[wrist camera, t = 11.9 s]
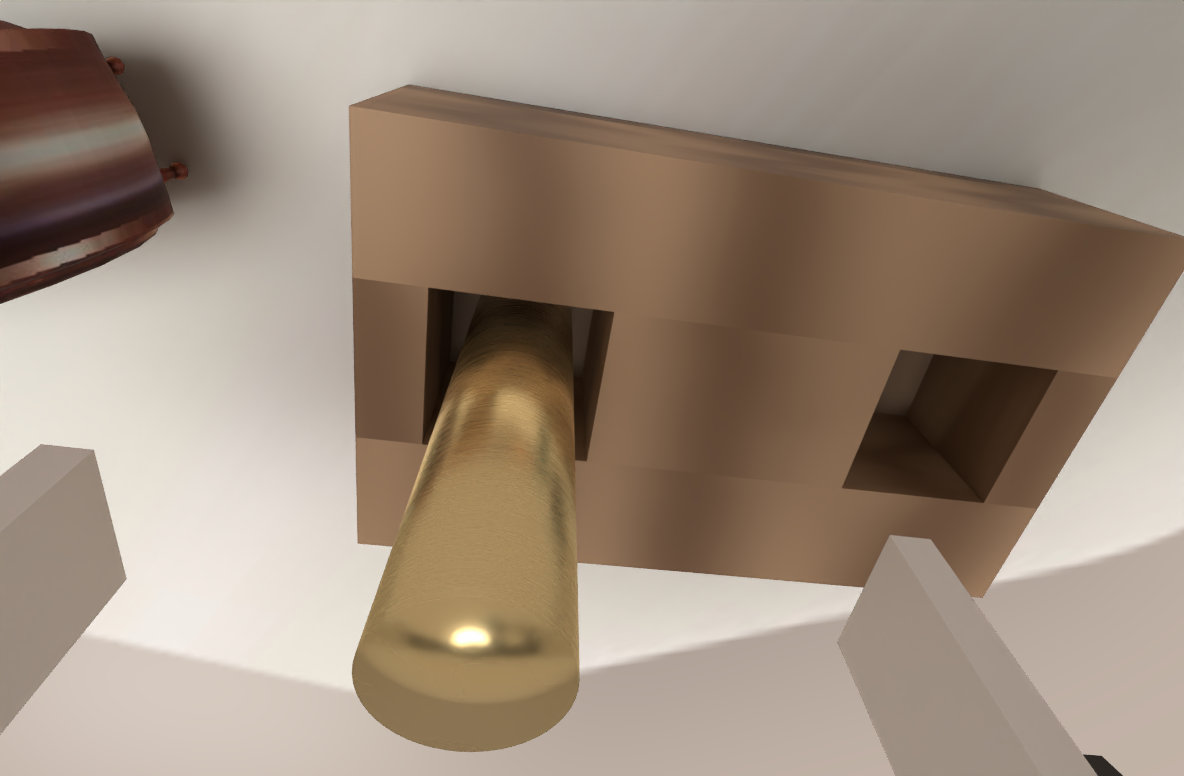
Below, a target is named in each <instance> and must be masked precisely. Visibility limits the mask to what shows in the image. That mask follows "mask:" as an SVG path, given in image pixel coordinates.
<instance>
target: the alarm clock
mask: <svg viewBox="0 0 1184 776" xmlns="http://www.w3.org/2000/svg"><path fill="white" fill-rule="evenodd" d="M124 70H125V65H124V64H123V62H122V61H121V60H120V59H118V58H117V57H109V58H107V59H106V60H105V59H104V57H103V55H102V53H101V51H100V49H99V47H98V45H97V43H96V41H95V39H94V37H93V35H92V34H90V33H88V32H85V31H79V30H70V29H43V28H39V29H26V28H23V27H20V26H17V25H14V24H11V23H8V22H5V21H0V304H1V303H4V302H7V301H10V300H13V299H15V298H18V297H21V296H24V295H27V294H29V293H32V292H35V291H38V290H41V289H43V288H46V287H49V286H52V285H54V284H57V283H59V282H62V281H64V280H67V279H69V278H72V277H74V276H77V275H79V274H82V273H84V272H87V271H89V270H91V269H94V268H96V267H99V266H101V265H104V264H106V263H108V262H110V261H112V260H114V259H116V258H118V257H120V256H122V255H124V254H126V253H128V252H130V251H132V250H134V249H136V248H138V247H140V246H141V245H142V244H143V243H145V242H146V241H147V240H149V239H150V238H151V237H152V236H154V235H155V234H156V232H157V230H158V227H159V226H161V225H162V224H164V223H165V222H167V221H168V220H170V218H171V217H172V216H173V214H174V212H173V208H172V205H171V202H170V198H169V195H168V192H167V190H166V187H165V184H164V183H165V182H167V181H169V180H171V179H173V178H175V179H179V180H182V179H185V178H186V177H187V175H188V170H187V168H186V166H185V165H183V164H181V163H179V162H176V163H172V164H171V165H170V166H169V168H162V169H159V167H158V164H157V161H156V158H155V156H154V153H153V150H152V147H151V144H150V141H149V139H148V136H147V134H146V132H145V129H144V127H143V125H142V123H141V121H140V118H139V116H138V114H137V112H136V110H135V108H134V107H133V105H132V103H131V102H130V100H129V98H128V97H127V95H126V93H125V92H124V90H123V88H122V87H121V85H120V83H119V82H118V80H117V78H116V77H115V75H120V74H122V73H124ZM114 74H115V75H114Z"/></svg>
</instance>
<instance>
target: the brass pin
mask: <svg viewBox="0 0 1184 776" xmlns="http://www.w3.org/2000/svg"><path fill="white" fill-rule="evenodd" d="M352 678H353V684H354V687H355V691H356V694H357V695H358V697H359V699H360V701H361V703H362V704H363V706H364V707H365V708H366V709H367V711H368V712H369V713H370V714H371V715H372V716H373V717H374V718H375V719H376V720H377V721H378V722H380V723H381V724H382V725H383V726H385V727H386V728H388V729H389V730H391V731H392V732H394V733H396V734H398V735H400V736H402V737H404V738H406V739H408V740H411V741H413V742H416V743H419V744H422V745H425V746H429V747H433V748H438V749H444V750H450V751H460V752H479V751H491V750H497V749H503V748H508V747H512V746H516V745H518V744H522V743H524V742H527V741H529V740H532V739H534V738H536V737H538V736H540V735H542V734H543V733H545V732H547V731H548V730H549V729H551V728H552V727H553V726H555V725H556V724H557V723H558V722H559V721H560V720H561V719H562V718H563V717H564V716H565V715H566V714H567V712H568V711H569V710H570V708H571V707H572V704H573V702H574V701H575V699H576V696H577V692H578V688H579V633H578V584H577V535H576V486H575V437H574V388H573V340H572V306H565V305H557V304H550V303H542V302H535V301H527V300H519V299H512V298H504V297H497V296H489V295H480V297H479V300H478V303H477V306H476V309H475V312H474V315H473V317H472V320H471V323H470V326H469V329H468V332H467V335H466V338H465V340H464V343H463V346H462V349H461V352H460V355H459V358H458V361H457V363H456V366H455V369H454V372H453V375H452V378H451V381H450V383H449V386H448V389H447V392H446V395H445V398H444V401H443V404H442V406H441V409H440V412H439V415H438V418H437V421H436V424H435V427H434V429H433V432H432V435H431V438H430V441H429V444H428V447H427V449H426V452H425V455H424V458H423V461H422V464H421V467H420V470H419V472H418V475H417V478H416V481H415V484H414V487H413V490H412V492H411V495H410V498H409V501H408V504H407V507H406V510H405V513H404V515H403V518H402V521H401V524H400V527H399V530H398V533H397V536H396V538H395V541H394V544H393V547H392V550H391V553H390V556H389V558H388V561H387V564H386V567H385V570H384V573H383V576H382V579H381V581H380V584H379V587H378V590H377V593H376V596H375V599H374V602H373V604H372V607H371V610H370V613H369V616H368V619H367V622H366V624H365V627H364V630H363V633H362V636H361V639H360V642H359V645H358V647H357V650H356V653H355V657H354V660H353V666H352Z"/></svg>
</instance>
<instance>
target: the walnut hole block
mask: <svg viewBox="0 0 1184 776" xmlns="http://www.w3.org/2000/svg"><path fill="white" fill-rule="evenodd" d="M349 129H350V179H351V230H352V281H353V331H354V382H355V433H356V483H357V534H358V543H359V544H371V545H382V546H393V544H394V541H395V538H396V536H397V533H398V530H399V527H400V524H401V521H402V518H403V515H404V513H405V510H406V507H407V504H408V501H409V498H410V495H411V492H412V490H413V487H414V484H415V481H416V478H417V475H418V472H419V470H420V467H421V464H422V461H423V458H424V455H425V452H426V449H427V447H428V444H429V441H430V438H431V435H432V432H433V429H434V427H435V424H436V421H437V418H438V415H439V412H440V409H441V406H442V404H443V401H444V398H445V395H446V392H447V389H448V386H449V383H450V381H451V378H452V375H453V372H454V369H455V366H456V363H457V361H458V358H459V355H460V352H461V349H462V346H463V343H464V340H465V338H466V335H467V332H468V329H469V326H470V323H471V320H472V317H473V315H474V312H475V309H476V306H477V303H478V300H479V297H480V295H489V296H497V297H504V298H512V299H519V300H527V301H535V302H542V303H550V304H557V305H565V306H572V340H573V388H574V437H575V486H576V535H577V562H578V563H589V564H601V565H612V566H624V567H635V568H647V569H658V570H670V571H681V572H693V573H704V574H715V575H727V576H738V577H750V578H761V579H773V580H784V581H796V582H807V583H819V584H830V585H842V586H853V587H865V585H866V583H867V580H868V578H869V576H870V574H871V572H872V570H873V568H874V566H875V564H876V562H877V560H878V558H879V556H880V554H881V552H882V550H883V548H884V546H885V544H886V542H887V540H888V538H889V536H890V535H895V536H905V537H914V538H924V539H931V540H932V542H933V543H934V545H935V546H936V547H937V549H938V550H939V552H940V553H941V555H942V556H943V557H944V559H945V560H946V562H947V563H948V564H949V566H950V567H951V569H952V570H953V572H954V573H955V574H956V576H957V577H958V579H959V580H960V581H961V583H962V584H963V586H964V587H965V589H966V590H967V591H968V593H969V594H970V596H971V597H980V598H983V596H984V594H985V593H986V591H987V590H988V588H989V586H990V585H991V583H992V582H993V580H994V578H995V577H996V575H997V573H998V572H999V570H1000V569H1001V567H1002V565H1003V564H1004V562H1005V560H1006V559H1007V557H1008V556H1009V554H1010V552H1011V551H1012V549H1013V547H1014V546H1015V544H1016V542H1017V541H1018V539H1019V538H1020V536H1021V534H1022V533H1023V531H1024V529H1025V528H1026V526H1027V525H1028V523H1029V521H1030V520H1031V518H1032V516H1033V515H1034V513H1035V512H1036V510H1037V508H1038V507H1039V505H1040V503H1041V502H1042V500H1043V499H1044V497H1045V495H1046V494H1047V492H1048V490H1049V489H1050V487H1051V485H1052V484H1053V482H1054V481H1055V479H1056V477H1057V476H1058V474H1059V472H1060V471H1061V469H1062V468H1063V466H1064V464H1065V463H1066V461H1067V459H1068V458H1069V456H1070V455H1071V453H1072V451H1073V450H1074V448H1075V446H1076V445H1077V443H1078V442H1079V440H1080V438H1081V437H1082V435H1083V433H1084V432H1085V430H1086V428H1087V427H1088V425H1089V424H1090V422H1091V420H1092V419H1093V417H1094V415H1095V414H1096V412H1097V411H1098V409H1099V407H1100V406H1101V404H1102V402H1103V401H1104V399H1105V398H1106V396H1107V394H1108V393H1109V391H1110V389H1111V388H1112V386H1113V385H1114V383H1115V381H1116V380H1117V378H1118V376H1119V375H1120V373H1121V371H1122V370H1123V368H1124V367H1125V365H1126V363H1127V362H1128V360H1129V358H1130V357H1131V355H1132V354H1133V352H1134V350H1135V349H1136V347H1137V345H1138V344H1139V342H1140V341H1141V339H1142V337H1143V336H1144V334H1145V332H1146V331H1147V329H1148V328H1149V326H1150V324H1151V323H1152V321H1153V319H1154V318H1155V316H1156V314H1157V313H1158V311H1159V310H1160V308H1161V306H1162V305H1163V303H1164V301H1165V300H1166V298H1167V297H1168V295H1169V293H1170V292H1171V290H1172V288H1173V287H1174V285H1175V284H1176V282H1177V280H1178V279H1179V277H1180V275H1181V274H1182V272H1183V271H1184V236H1181V235H1178V234H1175V233H1172V232H1168V231H1165V230H1162V229H1159V228H1156V227H1153V226H1150V225H1147V224H1144V223H1141V222H1138V221H1135V220H1132V219H1129V218H1126V217H1123V216H1120V215H1117V214H1114V213H1111V212H1108V211H1105V210H1102V209H1099V208H1096V207H1093V206H1090V205H1087V204H1084V203H1081V202H1078V201H1075V200H1072V199H1069V198H1066V197H1063V196H1060V195H1057V194H1054V193H1051V192H1048V191H1045V190H1042V189H1037V188H1031V187H1025V186H1019V185H1013V184H1007V183H1001V182H995V181H989V180H982V179H976V178H970V177H964V176H958V175H952V174H946V173H940V172H934V171H928V170H922V169H916V168H910V167H904V166H898V165H892V164H886V163H880V162H874V161H868V160H861V159H855V158H849V157H843V156H837V155H831V154H825V153H819V152H813V151H807V150H801V149H795V148H789V147H783V146H777V145H771V144H765V143H759V142H753V141H747V140H741V139H734V138H728V137H722V136H716V135H710V134H704V133H698V132H692V131H686V130H680V129H674V128H668V127H662V126H656V125H650V124H644V123H638V122H632V121H626V120H620V119H613V118H607V117H601V116H595V115H589V114H583V113H577V112H571V111H565V110H559V109H553V108H547V107H541V106H535V105H529V104H523V103H517V102H511V101H505V100H499V99H492V98H486V97H480V96H474V95H468V94H462V93H456V92H450V91H444V90H438V89H432V88H426V87H420V86H414V85H406V86H403V87H400V88H398V89H395V90H392V91H389V92H386V93H384V94H381V95H378V96H375V97H372V98H370V99H367V100H364V101H361V102H358V103H356V104H353V105H350V106H349Z"/></svg>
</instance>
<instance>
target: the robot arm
mask: <svg viewBox="0 0 1184 776" xmlns="http://www.w3.org/2000/svg"><path fill="white" fill-rule="evenodd" d="M125 580H126V575H125V571H124V567H123V563H122V559H121V555H120V551H119V547H118V544H117V540H116V536H115V532H114V528H113V524H112V520H111V516H110V512H109V508H108V504H107V500H106V496H105V492H104V488H103V484H102V480H101V476H100V472H99V468H98V465H97V461H96V457H95V453H94V450H90V449H80V448H71V447H61V446H52V445H43V444H41V445H39V446H38V447H37V448H36V449H34V450H33V451H32V452H30V453H29V454H28V455H27V456H25V457H24V458H23V459H21V460H20V461H19V462H18V463H16V464H15V465H14V466H13V467H11V468H10V469H9V470H7V471H6V472H5V473H4V474H2V475H1V476H0V734H1V733H2V732H3V731H4V730H5V728H6V727H7V726H8V725H9V723H10V722H11V721H12V720H13V719H14V717H15V716H16V715H17V714H18V712H19V711H20V710H21V709H22V707H23V706H24V705H25V704H26V702H27V701H28V700H29V699H30V698H31V696H32V695H33V694H34V692H35V691H36V690H37V689H38V688H39V686H40V685H41V684H42V683H43V681H44V680H45V679H46V678H47V677H48V675H49V674H50V673H51V672H52V670H53V669H54V668H55V667H56V665H57V664H58V663H59V662H60V661H61V659H62V658H63V657H64V656H65V654H66V653H67V652H68V651H69V649H70V648H71V647H72V646H73V645H74V643H75V642H76V641H77V640H78V638H79V637H80V636H81V635H82V633H83V632H84V631H85V630H86V628H87V627H88V626H89V625H90V624H91V622H92V621H93V620H94V619H95V617H96V616H97V615H98V614H99V612H100V611H101V610H102V609H103V608H104V606H105V605H106V604H107V603H108V601H109V600H110V599H111V598H112V596H113V595H114V594H115V593H116V592H117V590H118V589H119V588H120V587H121V585H122V584H123V583H124V582H125ZM837 643H838V645H839V647H840V649H841V652H842V654H843V656H844V659H845V661H846V663H847V666H848V668H849V670H850V673H851V675H852V677H853V679H854V682H855V684H856V686H857V688H858V691H859V693H860V695H861V698H862V700H863V702H864V705H865V707H866V709H867V712H868V714H869V716H870V719H871V721H872V723H873V725H874V728H875V730H876V732H877V735H878V737H879V739H880V742H881V744H882V746H883V748H884V750H885V753H886V755H887V757H888V760H889V762H890V765H891V767H892V769H893V771H894V774H895V776H1123V775H1121V774H1120V773H1119V772H1118V771H1117V770H1116V769H1115V768H1114V767H1113V766H1112V765H1111V764H1109V762H1108V761H1106V760H1105V759H1104V758H1103V757H1102V756H1096V755H1083V754H1082V753H1081V751H1080V750H1079V748H1078V747H1077V746H1076V745H1075V743H1074V741H1073V740H1072V739H1071V737H1070V736H1069V734H1068V733H1067V731H1066V730H1065V729H1064V727H1063V726H1062V725H1061V723H1060V722H1059V720H1058V719H1057V717H1056V716H1055V715H1054V713H1053V712H1052V710H1051V709H1050V707H1049V706H1048V705H1047V703H1046V702H1045V700H1044V699H1043V698H1042V696H1041V695H1040V694H1039V692H1038V690H1037V689H1036V688H1035V686H1034V685H1033V684H1032V682H1031V681H1030V679H1029V678H1028V677H1027V675H1026V674H1025V672H1024V671H1023V669H1022V668H1021V666H1020V665H1019V664H1018V662H1017V661H1016V659H1015V658H1014V657H1013V655H1012V654H1011V652H1010V651H1009V649H1008V648H1007V647H1006V646H1005V644H1004V642H1003V641H1002V640H1001V638H1000V637H999V636H998V634H997V633H996V631H995V630H994V628H993V627H992V625H991V624H990V623H989V621H988V620H987V618H986V617H985V615H984V614H983V613H982V611H981V610H980V608H979V607H978V605H977V604H976V603H975V601H974V600H973V598H972V597H971V596H970V594H969V593H968V591H967V590H966V589H965V587H964V586H963V584H962V583H961V581H960V580H959V579H958V577H957V576H956V574H955V573H954V572H953V570H952V569H951V567H950V566H949V564H948V563H947V562H946V560H945V559H944V557H943V556H942V555H941V553H940V552H939V550H938V549H937V547H936V546H935V545H934V543H933V542H932V540H931V539H924V538H914V537H905V536H895V535H890V536H889V538H888V540H887V542H886V544H885V546H884V548H883V550H882V552H881V554H880V556H879V558H878V560H877V562H876V564H875V566H874V568H873V570H872V572H871V574H870V576H869V578H868V580H867V583H866V585H865V587H864V589H863V591H862V593H861V595H860V597H859V599H858V601H857V603H856V605H855V607H854V609H853V611H852V613H851V615H850V617H849V619H848V621H847V623H846V626H845V627H844V629H843V632H842V634H841V636H840V638H839V640H838V642H837Z"/></svg>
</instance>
